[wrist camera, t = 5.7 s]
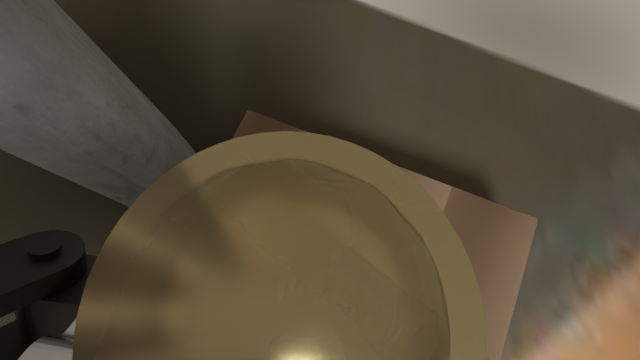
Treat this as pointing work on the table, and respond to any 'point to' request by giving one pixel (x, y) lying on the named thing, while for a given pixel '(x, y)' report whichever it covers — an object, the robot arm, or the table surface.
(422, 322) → the brass pin
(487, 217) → the walnut pin block
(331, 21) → the table surface
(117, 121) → the hip flask
